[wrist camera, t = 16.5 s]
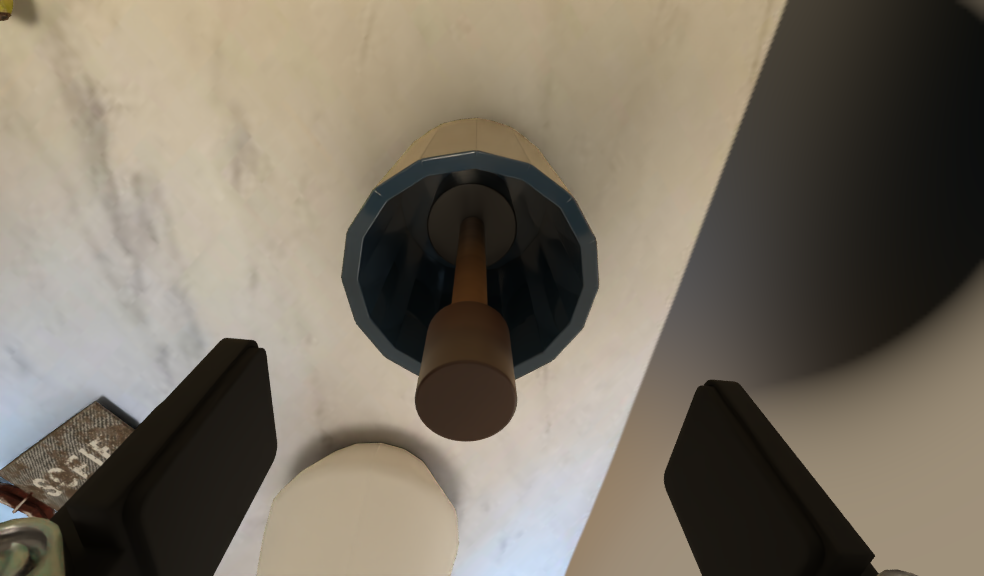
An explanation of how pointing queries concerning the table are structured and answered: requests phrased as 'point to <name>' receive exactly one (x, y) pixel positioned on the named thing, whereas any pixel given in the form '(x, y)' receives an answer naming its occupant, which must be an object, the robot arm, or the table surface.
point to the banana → (5, 9)
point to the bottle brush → (469, 313)
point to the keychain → (62, 462)
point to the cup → (361, 518)
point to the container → (429, 278)
